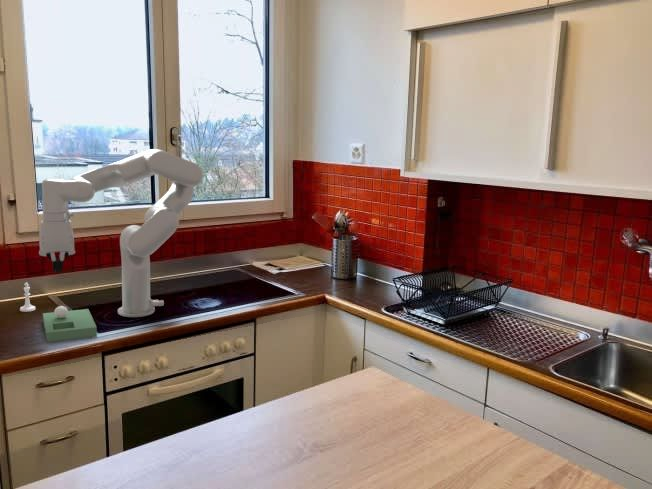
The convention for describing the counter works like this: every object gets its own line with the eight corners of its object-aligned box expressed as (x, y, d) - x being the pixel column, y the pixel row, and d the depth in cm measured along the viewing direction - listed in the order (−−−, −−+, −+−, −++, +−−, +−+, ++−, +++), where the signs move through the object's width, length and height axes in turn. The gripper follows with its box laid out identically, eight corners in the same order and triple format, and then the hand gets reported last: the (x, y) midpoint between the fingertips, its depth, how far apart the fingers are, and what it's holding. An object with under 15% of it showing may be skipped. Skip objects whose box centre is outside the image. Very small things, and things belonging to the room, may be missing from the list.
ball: (67, 315, 182) (67, 303, 181) (68, 319, 179) (68, 307, 178) (54, 316, 180) (53, 305, 179) (55, 320, 177) (54, 308, 176)
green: (88, 317, 190) (88, 308, 190) (96, 336, 173) (96, 327, 173) (43, 321, 183) (42, 313, 183) (47, 342, 166) (46, 332, 166)
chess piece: (28, 312, 192) (27, 284, 190) (16, 310, 193) (15, 283, 191) (38, 308, 197) (37, 281, 195) (26, 306, 198) (25, 280, 196)
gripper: (79, 215, 185) (81, 268, 189) (29, 216, 178) (31, 271, 181) (82, 218, 179) (83, 273, 182) (30, 219, 171) (32, 276, 175)
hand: (58, 272), depth 182 cm, fingers closed
